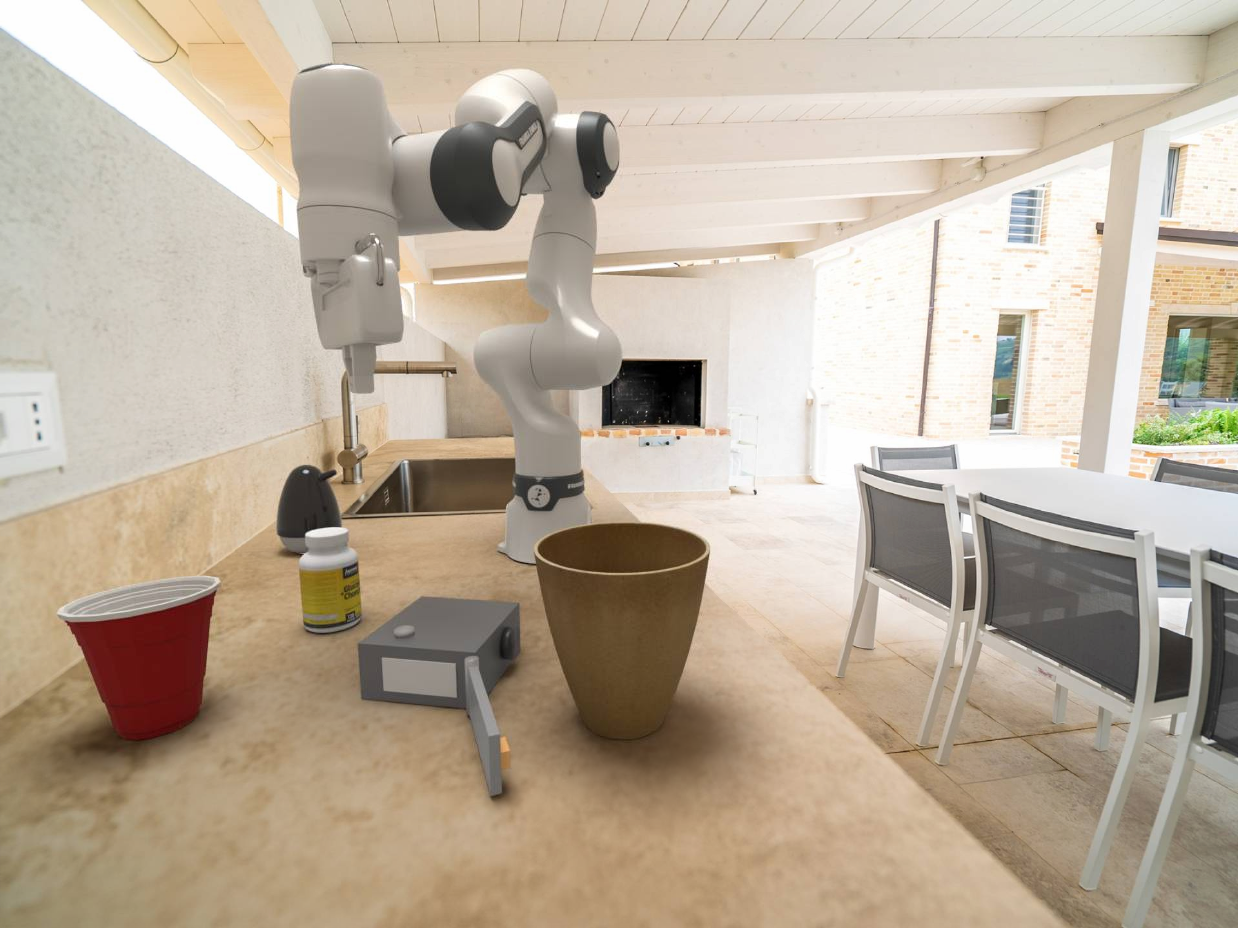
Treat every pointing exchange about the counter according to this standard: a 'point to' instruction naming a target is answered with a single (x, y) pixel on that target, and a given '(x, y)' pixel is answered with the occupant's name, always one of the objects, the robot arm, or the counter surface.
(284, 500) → the pump dispenser
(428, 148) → the robot arm
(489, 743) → the side door
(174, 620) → the plastic cup
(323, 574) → the pill bottle
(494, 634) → the box
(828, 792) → the counter surface
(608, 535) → the plant pot
